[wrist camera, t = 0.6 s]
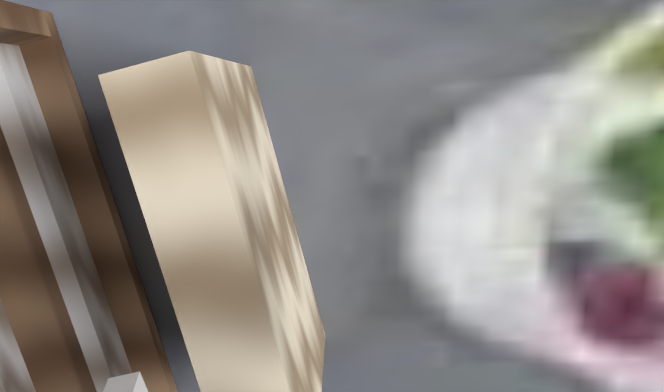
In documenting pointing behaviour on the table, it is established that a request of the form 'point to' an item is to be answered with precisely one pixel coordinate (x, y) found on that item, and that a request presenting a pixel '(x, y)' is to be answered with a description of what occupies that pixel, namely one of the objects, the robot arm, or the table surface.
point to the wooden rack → (61, 233)
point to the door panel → (219, 221)
